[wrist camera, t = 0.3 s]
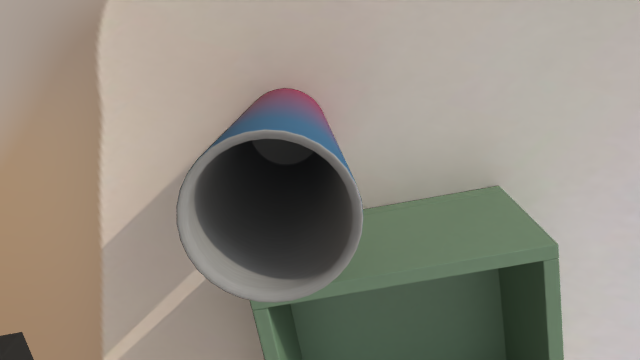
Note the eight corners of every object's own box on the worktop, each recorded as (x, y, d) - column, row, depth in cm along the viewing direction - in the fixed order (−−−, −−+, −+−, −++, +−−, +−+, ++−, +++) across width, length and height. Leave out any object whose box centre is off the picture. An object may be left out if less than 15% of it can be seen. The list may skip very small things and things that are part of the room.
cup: (247, 191, 36) (207, 319, 21) (217, 87, 34) (150, 154, 19) (350, 167, 35) (379, 282, 21) (327, 61, 33) (341, 109, 19)
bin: (262, 226, 36) (248, 296, 28) (499, 185, 36) (558, 244, 27) (306, 416, 41) (306, 526, 33) (515, 383, 41) (570, 485, 32)
